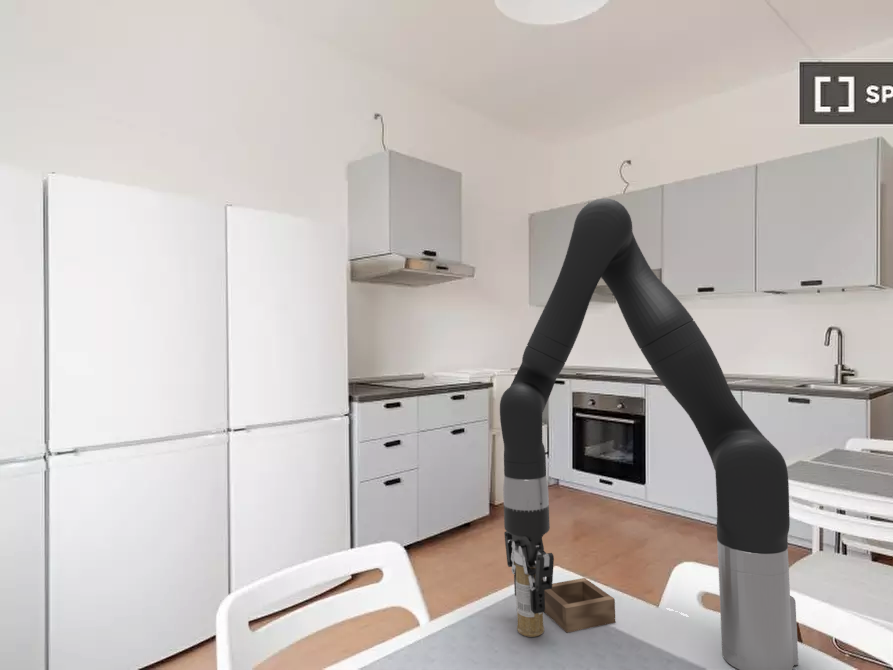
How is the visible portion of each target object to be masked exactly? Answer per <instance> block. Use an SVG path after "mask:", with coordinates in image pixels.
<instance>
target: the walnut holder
mask: <svg viewBox="0 0 893 670" xmlns="http://www.w3.org/2000/svg"><path fill="white" fill-rule="evenodd" d="M544 592H545V611H544V612H543V613H545V614H546V615H547V616H548V617H549V618H550V619H551V620H552V621H553V622H555V624H557V625H558V626H559V627H560V628H561V629H562V630H563V631H564V632H566V633H572V632H577V631H582V630H587V629H591V628H597V627H600V626H604V625H611V624H615V623H616V602H615V601H616V599H615V597H612V595H610V594H608V593H607V592H606V591H604V590H603V589H602V588H600V587H599V586H597V585H595V583H593V582H591V581H590V580H588V579H587V578H586V577H582V578H577V579H572V580H571V579H570V580H565V581H560V582H555V583H553V582H552V589H547V590H544Z"/></svg>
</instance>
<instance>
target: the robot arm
mask: <svg viewBox="0 0 893 670" xmlns="http://www.w3.org/2000/svg"><path fill="white" fill-rule="evenodd" d="M566 250H567V251H566V253H565V254H566V255H565V256H564V257H565V258H564V261H563V263H562V266H561V269H560V272H559V274H558V277H557V280H556V282H555V285H554V286H553V289H552V291H551V293H550V296H549V297H548V300H547V302H546V303H545V306H544V308H543V310H542V311H541V312H542V313H541V314H540V317H539V319H538V320H537V323H536V325H535V327H534V329H533V331H532V332H531V335H530V337H529V340H528V342H527V344H526V346H525V349H524V350H523V355H522V361H521V364H520V366H519V368H518V370H517V372H516V374H515V375H514V378H513V380H512V382H511V384H510V386H509V387H508V388H507V389H506V390H505V391H504V392H503V394H502V395H501V397H500V402H499V418H500V419H499V421H500V428H501V429H500V430H501V435H502V441H503V472H504V473H503V474H504V476H503V487H502V488H503V489H502V491H503V495H502V496H503V520H504V521H503V523H504V524H503V525H504V530H505V531H504V543H505V554H506V563H507V566H508V568H511V572H512V573H511V574H513V579H514V580H513V581H514V582H513V583H514V596H515V597H516V564H515V561H514V551H515V550H517V549H519V554H520V556H521V557H522V559H523V567H524V572H525V574H526V575H527V576H528V578H529V583H530V588H531V589H530V598H531V611H532V612H533V613H534V614H537V613H542V612H543V613H545V612H544V611H545V592H544V590H547V589H552V584H553V580H554V579H553V578H554V576H553V575H554V561H555V559H554V558H555V557H554V553H552V552H548V553H547V552H546V551H545V547H544V542H543V537H544V535H546V534H547V533H548V532H549V531H550V503H549V502H550V499H549V485H548V480H547V458H546V449H545V445H544V443H543V412H544V411H545V408H546V406H547V404H548V401H549V398H550V396H551V393H552V391H553V388H554V385H555V383H556V381H557V379H558V376H559V375H560V374H561V372H562V370H563V369H564V367H565V364H566V363H567V361H568V358H569V356H570V354H571V352H572V351H573V348H574V346H575V343H576V341H577V338H578V337H579V333H580V332H581V328H582V326H583V324H584V320H585V317H586V314H587V311H588V309H589V305H590V303H591V300H592V297H593V295H594V293H595V291H596V289H597V286H598V284H599V281H600V280H601V279H602V280H603V282H604V283H605V284H606V285H607V287H608V289H609V290H610V291H611V293H612V295H613V296H614V299H615V300H616V302H617V303H616V304H617V305H618V307H619V309H620V312H621V314H622V316H623V318H624V320H625V322H626V325H627V327H628V329H629V331H630V333H631V335H632V337H633V340H635V343H636V345H637V346H638V348H639V349H640V351H641V353H642V355H643V357H644V358H645V359H646V361H647V363H648V365H649V366H650V367H651V369H652V370H653V372H654V373H655V375H656V376H657V378H658V379H659V380H660V382H661V383H662V385H663V386H664V387H665V389H666V390H667V391H668V392H669V393H670V394H671V397H673V398H674V400H675V401H676V402H677V403H678V404H679V405H680V406H681V407H682V409H683V410H684V411H685V412H686V414H687V415H688V417H689V418H690V420H691V422H692V424H693V425H694V427H695V429H696V431H697V432H698V434H699V436H700V438H701V440H702V442H703V444H704V446H705V448H706V450H707V452H708V455H709V457H710V459H711V462H712V465H713V470H714V473H715V489H716V490H715V492H716V493H715V494H716V541H717V542H716V543H717V545H716V547H717V561H718V562H717V564H718V584H719V585H718V587H719V610H720V632H721V633H720V634H721V637H720V638H721V653H722V655H721V656H722V657H723V659H724V660H725V661H726V662H727V663H728V664H729V665H731V666H732V667H733V668H735V669H737V670H792V669H793V670H794V667H795V666H798V665H799V651H798V646H799V645H798V628H797V624H798V623H797V609H796V607H797V606H796V599H795V598H794V597H793V596H792V595H791V586H790V568H789V567H790V566H789V549H788V548H789V546H788V545H789V544H788V543H789V541H788V538H789V537H788V535H789V533H790V526H791V525H790V523H791V522H790V520H791V519H790V487H789V485H790V484H789V472H788V471H789V470H788V466H787V464H786V460H785V458H784V456H783V454H782V453H781V452H780V451H779V449H778V448H776V447H775V446H774V445H773V443H771V442H770V441H769V439H767V438H766V437H765V435H763V433H762V432H761V430H759V428H758V427H757V426H756V425H755V423H754V422H753V421H752V420H751V419H750V417H749V416H748V414H747V413H746V412H745V410H744V409H743V407H741V405H740V404H739V403H738V401H737V399H736V398H735V396H734V394H733V393H732V390H731V388H730V387H729V384H728V381H727V378H726V377H725V374H724V372H723V370H722V367H721V365H720V363H719V361H718V359H717V357H716V355H715V352H714V350H713V349H712V346H711V345H710V343H709V342H708V340H707V338H706V337H705V335H704V334H703V332H702V330H701V329H700V328H699V326H698V324H697V323H696V321H695V320H694V318H693V317H692V315H691V314H690V313H689V311H688V310H687V309H686V307H685V306H684V305H683V304H682V302H681V301H680V300H679V299H678V297H676V295H674V293H673V292H672V291H671V290H670V289H669V288H668V287H667V286H666V285H665V284H664V282H662V280H661V279H659V277H658V276H657V275H656V274H655V272H654V271H653V270H652V268H651V266H650V265H649V263H648V261H647V260H646V257H645V256H644V254H643V252H642V250H641V249H640V246H639V244H638V242H637V239H636V238H635V235H634V232H633V221H632V217H631V215H630V213H629V211H628V210H627V208H626V207H625V206H624V205H623V204H622V203H620V202H619V201H617V200H615V199H611V198H598V199H595V200H593V201H591V202H588V204H586V205H585V206H584V207H582V209H581V210H580V211H578V214H577V215H576V218H575V221H574V224H573V229H572V232H571V236H570V241H569V244H568V247H567V249H566ZM533 565H536V569H530V567H529V566H533ZM534 574H536V575H535V580H534ZM794 665H795V666H794ZM793 666H794V667H793Z"/></svg>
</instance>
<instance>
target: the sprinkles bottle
mask: <svg viewBox="0 0 893 670" xmlns="http://www.w3.org/2000/svg"><path fill="white" fill-rule="evenodd" d="M514 561H515V564H516V596H515V598H516V600H515V601H516V602H515V603H516V612H517V613H516V614H517V615H516V616H517V628H516V629H517V631H518V633H519V634H520V635H522V636H523V637H524V636H525V637H528V638H529V637H531V638H534V637H535V638H536V637H539V636H541V635H542V634H544V632H545V626H544V612H542V613H537V614H534V613H533V612H532V611H531V598H530V589H531V588H530V583H529V578H528V576H527V575H526V574H525V572H524V567H523V559H522V557H521V556H520V554H519V549H517V550H515V551H514ZM529 567H530V569H536V565H533V566H529ZM535 575H536V574H534V580H535Z"/></svg>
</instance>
